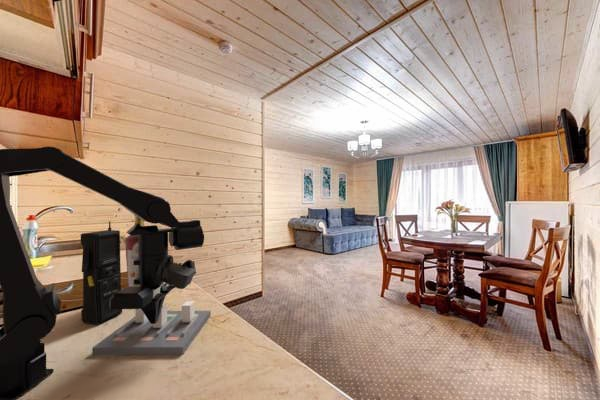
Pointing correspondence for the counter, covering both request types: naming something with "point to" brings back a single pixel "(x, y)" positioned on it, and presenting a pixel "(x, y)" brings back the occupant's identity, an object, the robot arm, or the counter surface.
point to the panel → (153, 336)
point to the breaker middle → (161, 318)
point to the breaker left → (140, 316)
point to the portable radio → (100, 274)
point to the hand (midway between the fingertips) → (153, 323)
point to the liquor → (132, 255)
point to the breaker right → (188, 311)
